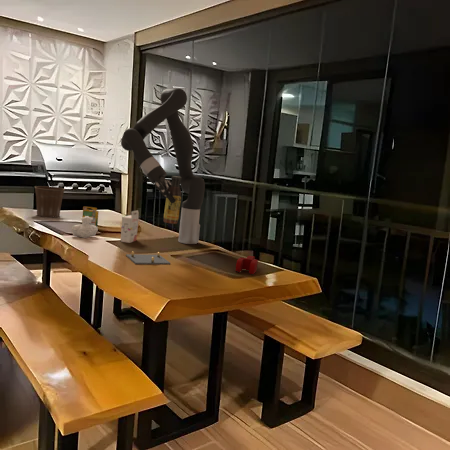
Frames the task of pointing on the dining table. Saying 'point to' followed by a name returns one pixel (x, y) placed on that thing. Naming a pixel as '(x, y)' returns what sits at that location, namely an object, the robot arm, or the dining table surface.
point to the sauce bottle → (173, 208)
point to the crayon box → (91, 215)
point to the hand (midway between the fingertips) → (176, 201)
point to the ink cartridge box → (129, 227)
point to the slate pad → (147, 259)
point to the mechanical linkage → (247, 264)
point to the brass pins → (152, 257)
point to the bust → (84, 228)
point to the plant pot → (48, 200)
